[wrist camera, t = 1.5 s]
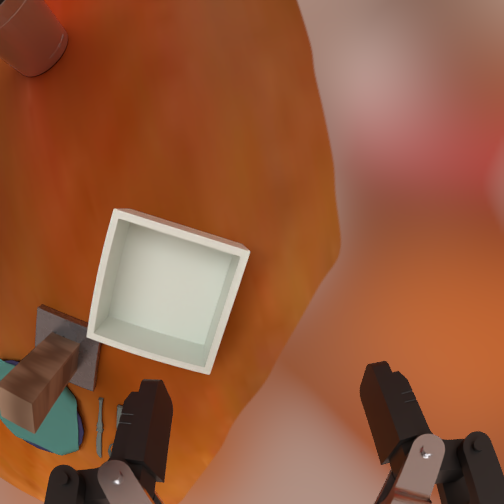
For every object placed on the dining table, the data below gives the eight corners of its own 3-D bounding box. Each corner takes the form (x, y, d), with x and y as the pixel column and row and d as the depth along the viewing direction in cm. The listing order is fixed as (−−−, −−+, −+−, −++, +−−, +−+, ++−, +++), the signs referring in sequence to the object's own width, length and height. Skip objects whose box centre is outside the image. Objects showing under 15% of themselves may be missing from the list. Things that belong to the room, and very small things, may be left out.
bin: (103, 316, 36) (86, 337, 29) (129, 208, 35) (113, 208, 28) (207, 348, 39) (209, 374, 32) (241, 243, 38) (250, 251, 31)
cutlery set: (-13, 338, 33) (-20, 343, 31) (150, 399, 40) (149, 408, 37) (0, 422, 36) (-5, 428, 33) (140, 474, 42) (138, 483, 39)
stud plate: (38, 362, 35) (23, 378, 30) (42, 304, 35) (24, 316, 29) (95, 386, 37) (85, 406, 32) (103, 328, 36) (91, 344, 31)
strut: (50, 358, 34) (1, 416, 20) (52, 332, 34) (-4, 384, 19) (77, 370, 35) (34, 434, 20) (79, 343, 35) (31, 403, 20)
